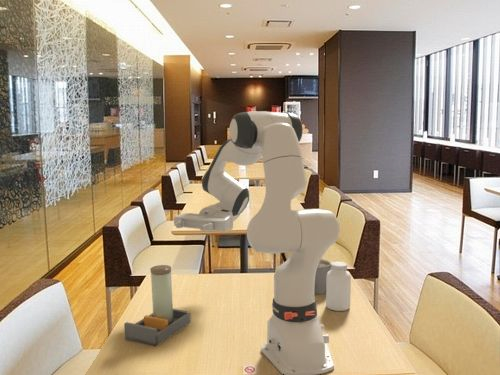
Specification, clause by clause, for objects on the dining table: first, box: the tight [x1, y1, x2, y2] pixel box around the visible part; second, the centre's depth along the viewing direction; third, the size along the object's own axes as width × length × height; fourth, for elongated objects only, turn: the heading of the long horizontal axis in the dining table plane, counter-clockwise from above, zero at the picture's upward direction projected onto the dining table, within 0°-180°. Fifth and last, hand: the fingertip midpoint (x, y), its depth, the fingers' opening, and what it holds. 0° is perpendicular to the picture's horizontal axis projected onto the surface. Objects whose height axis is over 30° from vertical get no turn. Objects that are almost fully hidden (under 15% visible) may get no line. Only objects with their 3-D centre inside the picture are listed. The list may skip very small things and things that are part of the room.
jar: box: [149, 264, 174, 325], centre depth 157 cm, size 6×6×18 cm
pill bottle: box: [325, 261, 352, 312], centre depth 171 cm, size 8×8×15 cm
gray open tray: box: [123, 308, 191, 347], centre depth 156 cm, size 18×11×5 cm, turn 154°
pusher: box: [143, 314, 168, 330], centre depth 155 cm, size 1×8×3 cm, turn 64°
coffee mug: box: [314, 258, 332, 295], centre depth 188 cm, size 13×10×10 cm
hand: (189, 227), depth 169 cm, fingers open, 8 cm apart
